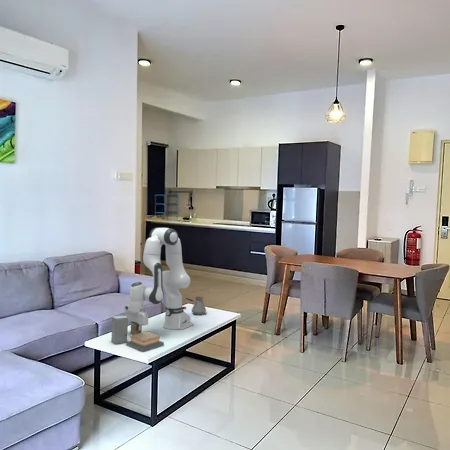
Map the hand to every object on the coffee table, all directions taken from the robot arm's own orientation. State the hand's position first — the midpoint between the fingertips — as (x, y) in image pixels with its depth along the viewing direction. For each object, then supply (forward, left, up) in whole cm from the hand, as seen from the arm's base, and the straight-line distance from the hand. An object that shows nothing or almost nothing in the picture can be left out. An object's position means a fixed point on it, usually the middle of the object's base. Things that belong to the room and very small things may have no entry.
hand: (136, 329), depth 268 cm
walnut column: (0, 0, -4) cm, 4 cm away
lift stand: (+6, +17, -5) cm, 19 cm away
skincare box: (+14, +1, -5) cm, 14 cm away
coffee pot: (-64, -10, -5) cm, 65 cm away
